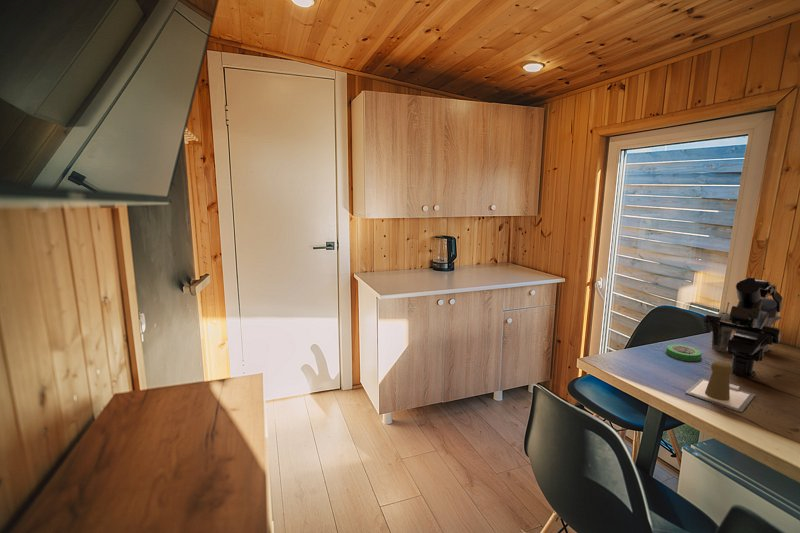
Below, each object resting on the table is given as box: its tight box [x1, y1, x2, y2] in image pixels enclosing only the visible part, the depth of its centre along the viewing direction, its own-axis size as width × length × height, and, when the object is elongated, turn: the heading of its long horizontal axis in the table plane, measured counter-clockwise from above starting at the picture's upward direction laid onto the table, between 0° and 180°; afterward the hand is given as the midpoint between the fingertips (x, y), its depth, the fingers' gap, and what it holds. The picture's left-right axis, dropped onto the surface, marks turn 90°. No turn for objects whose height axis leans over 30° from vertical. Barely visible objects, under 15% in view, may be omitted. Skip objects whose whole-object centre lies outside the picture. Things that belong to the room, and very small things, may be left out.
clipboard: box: [684, 377, 756, 414], centre depth 123 cm, size 16×14×1 cm
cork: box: [705, 360, 733, 401], centre depth 120 cm, size 6×6×11 cm
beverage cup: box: [711, 302, 734, 353], centre depth 155 cm, size 7×7×20 cm
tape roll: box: [665, 344, 702, 362], centre depth 152 cm, size 11×11×3 cm
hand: (732, 349), depth 124 cm, fingers open, 9 cm apart
